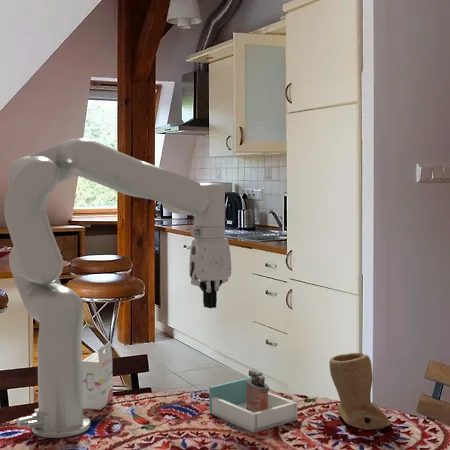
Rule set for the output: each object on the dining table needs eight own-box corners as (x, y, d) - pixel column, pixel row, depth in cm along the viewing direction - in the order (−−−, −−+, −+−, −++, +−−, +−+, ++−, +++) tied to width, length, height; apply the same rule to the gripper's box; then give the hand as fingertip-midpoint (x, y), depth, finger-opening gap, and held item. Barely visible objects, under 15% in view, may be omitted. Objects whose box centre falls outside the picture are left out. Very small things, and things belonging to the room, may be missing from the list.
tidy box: (253, 433, 150) (253, 414, 149) (212, 414, 162) (212, 397, 161) (297, 419, 158) (297, 402, 157) (254, 402, 169) (254, 386, 169)
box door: (212, 413, 162) (211, 387, 161) (209, 411, 162) (209, 386, 162) (254, 401, 170) (254, 377, 169) (251, 400, 170) (251, 376, 170)
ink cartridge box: (94, 397, 174) (93, 340, 173) (113, 398, 173) (112, 340, 172) (81, 408, 166) (80, 348, 165) (100, 410, 165) (99, 349, 164)
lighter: (272, 419, 155) (272, 376, 155) (259, 422, 154) (259, 378, 153) (255, 409, 163) (255, 367, 162) (242, 411, 161) (242, 369, 160)
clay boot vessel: (325, 409, 165) (325, 347, 164) (374, 408, 165) (375, 346, 164) (336, 433, 150) (337, 364, 148) (391, 432, 150) (392, 364, 149)
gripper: (193, 236, 162) (193, 313, 164) (242, 232, 172) (242, 306, 173) (175, 234, 168) (176, 308, 170) (224, 231, 178) (224, 301, 179)
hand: (209, 307), depth 171 cm, fingers closed
